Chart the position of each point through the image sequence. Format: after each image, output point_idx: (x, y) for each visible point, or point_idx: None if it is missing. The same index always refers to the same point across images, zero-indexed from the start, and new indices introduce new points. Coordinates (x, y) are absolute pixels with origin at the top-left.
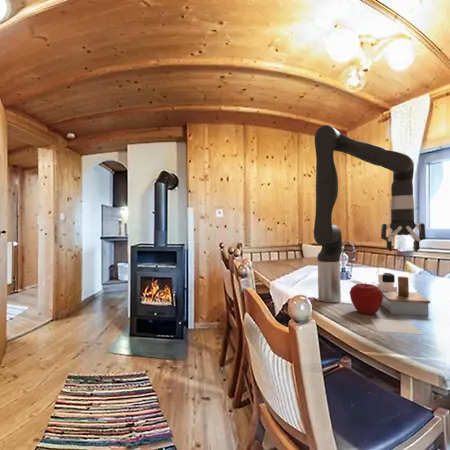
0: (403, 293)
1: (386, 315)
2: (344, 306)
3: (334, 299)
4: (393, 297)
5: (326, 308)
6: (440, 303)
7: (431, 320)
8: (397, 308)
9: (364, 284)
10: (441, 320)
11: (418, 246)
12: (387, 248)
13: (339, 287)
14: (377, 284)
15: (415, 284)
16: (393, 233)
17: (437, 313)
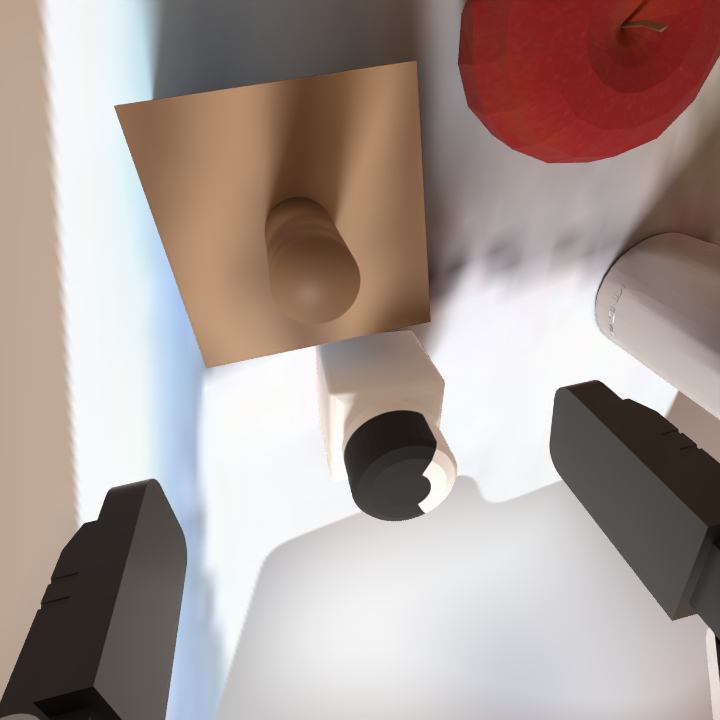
0: (303, 202)
1: (399, 53)
2: (602, 182)
3: (650, 248)
4: (373, 141)
5: (714, 93)
6: (99, 447)
7: (133, 26)
8: None
9: (641, 78)
10: (72, 52)
11: (66, 588)
12: (652, 410)
13: (664, 308)
14: (438, 427)
15: (216, 701)
16: None
17: (104, 227)
